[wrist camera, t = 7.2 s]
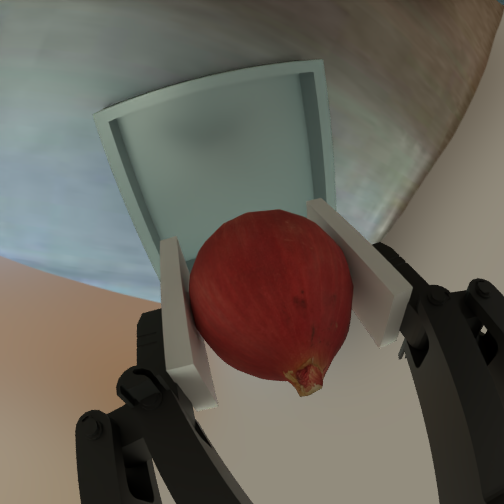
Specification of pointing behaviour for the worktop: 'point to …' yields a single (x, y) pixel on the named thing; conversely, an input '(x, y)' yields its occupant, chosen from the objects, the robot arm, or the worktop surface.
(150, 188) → the bin
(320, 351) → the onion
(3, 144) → the worktop surface
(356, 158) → the worktop surface
